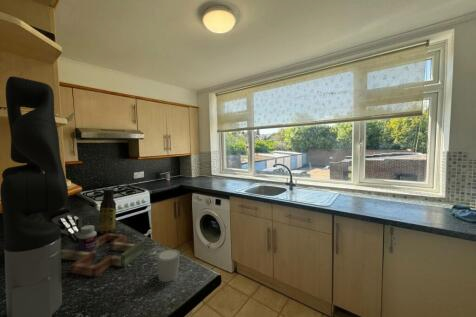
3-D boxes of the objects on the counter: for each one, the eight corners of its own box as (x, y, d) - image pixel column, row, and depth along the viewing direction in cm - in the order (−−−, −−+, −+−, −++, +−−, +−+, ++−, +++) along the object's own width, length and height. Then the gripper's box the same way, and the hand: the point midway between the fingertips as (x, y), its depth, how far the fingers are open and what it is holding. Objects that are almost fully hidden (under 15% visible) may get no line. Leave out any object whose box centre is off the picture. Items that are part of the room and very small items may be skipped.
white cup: (171, 266, 68) (172, 246, 67) (184, 275, 63) (184, 254, 63) (152, 276, 62) (152, 254, 62) (164, 286, 58) (164, 263, 57)
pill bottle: (87, 257, 71) (86, 231, 70) (74, 255, 72) (74, 229, 71) (100, 250, 76) (100, 225, 76) (88, 248, 77) (88, 223, 77)
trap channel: (38, 268, 64) (37, 256, 64) (96, 237, 86) (95, 228, 86) (110, 278, 60) (110, 266, 60) (152, 243, 82) (152, 234, 82)
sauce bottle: (96, 235, 88) (96, 190, 87) (102, 229, 94) (101, 187, 93) (113, 234, 90) (113, 190, 88) (117, 228, 96) (117, 187, 94)
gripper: (36, 205, 68) (68, 244, 67) (73, 196, 81) (100, 228, 80) (23, 219, 69) (55, 257, 68) (62, 207, 82) (89, 240, 81)
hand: (79, 241), depth 74 cm, fingers closed
